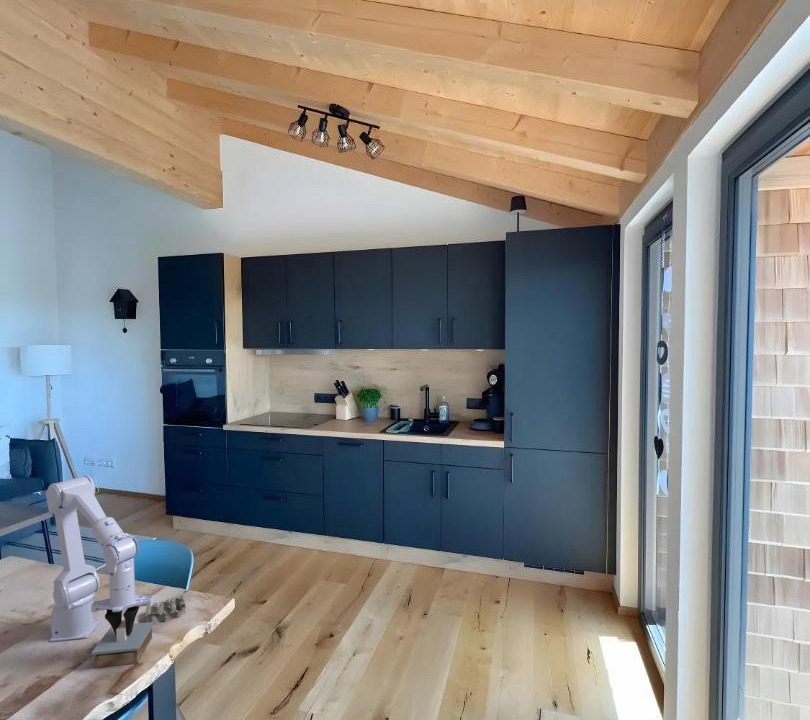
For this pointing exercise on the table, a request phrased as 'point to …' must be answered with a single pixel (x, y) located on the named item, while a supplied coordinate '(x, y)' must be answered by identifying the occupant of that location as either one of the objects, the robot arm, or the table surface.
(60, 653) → the table surface
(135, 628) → the lid
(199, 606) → the table surface
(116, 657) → the box
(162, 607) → the egg carton
